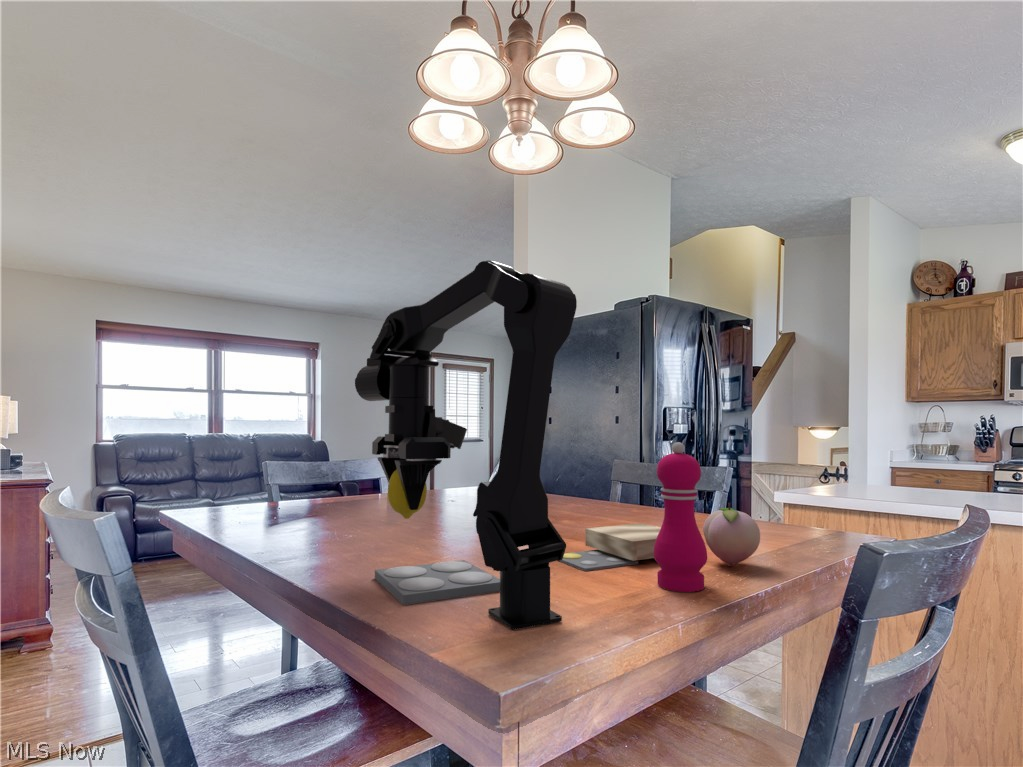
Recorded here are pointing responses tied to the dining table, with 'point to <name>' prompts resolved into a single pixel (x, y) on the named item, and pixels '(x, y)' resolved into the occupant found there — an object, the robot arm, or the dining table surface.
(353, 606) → the dining table surface
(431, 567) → the board
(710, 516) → the decorative fruit
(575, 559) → the grey dotted plate
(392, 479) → the lemon
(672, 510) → the pepper mill
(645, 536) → the cover
